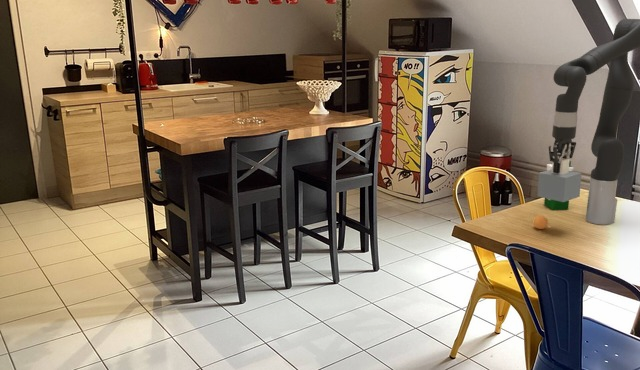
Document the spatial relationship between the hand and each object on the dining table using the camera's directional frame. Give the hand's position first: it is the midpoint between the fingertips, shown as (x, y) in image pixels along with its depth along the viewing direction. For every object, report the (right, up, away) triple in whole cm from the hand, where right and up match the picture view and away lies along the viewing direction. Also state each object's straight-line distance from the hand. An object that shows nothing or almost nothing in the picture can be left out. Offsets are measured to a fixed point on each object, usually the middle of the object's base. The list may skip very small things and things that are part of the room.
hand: (559, 171), depth 198 cm
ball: (-3, -19, +10) cm, 22 cm away
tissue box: (0, -9, +2) cm, 9 cm away
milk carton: (+13, -14, +34) cm, 39 cm away
